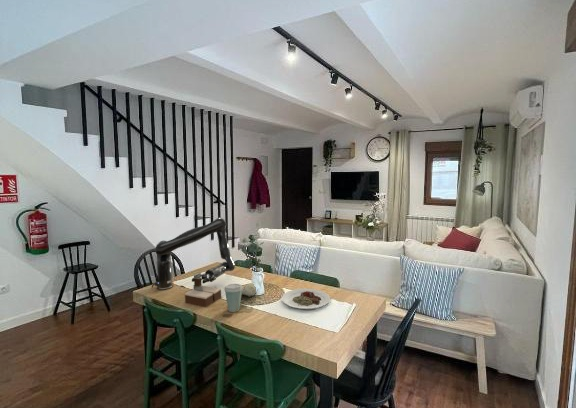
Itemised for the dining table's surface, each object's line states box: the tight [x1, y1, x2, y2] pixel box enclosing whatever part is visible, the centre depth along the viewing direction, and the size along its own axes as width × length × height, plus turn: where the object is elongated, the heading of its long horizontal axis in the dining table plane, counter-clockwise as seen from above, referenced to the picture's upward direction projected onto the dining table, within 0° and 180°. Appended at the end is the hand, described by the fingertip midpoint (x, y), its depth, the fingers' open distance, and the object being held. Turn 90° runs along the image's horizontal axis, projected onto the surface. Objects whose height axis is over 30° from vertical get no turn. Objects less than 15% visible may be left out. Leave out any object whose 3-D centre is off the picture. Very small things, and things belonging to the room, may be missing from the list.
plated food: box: [281, 288, 331, 310], centre depth 195 cm, size 30×30×3 cm
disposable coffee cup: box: [223, 283, 244, 313], centre depth 184 cm, size 11×11×15 cm
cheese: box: [241, 282, 257, 298], centre depth 206 cm, size 15×7×15 cm
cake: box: [184, 285, 222, 308], centre depth 199 cm, size 16×15×6 cm
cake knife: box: [192, 277, 204, 292], centre depth 200 cm, size 7×2×14 cm, turn 66°
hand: (197, 281), depth 199 cm, fingers open, 8 cm apart
